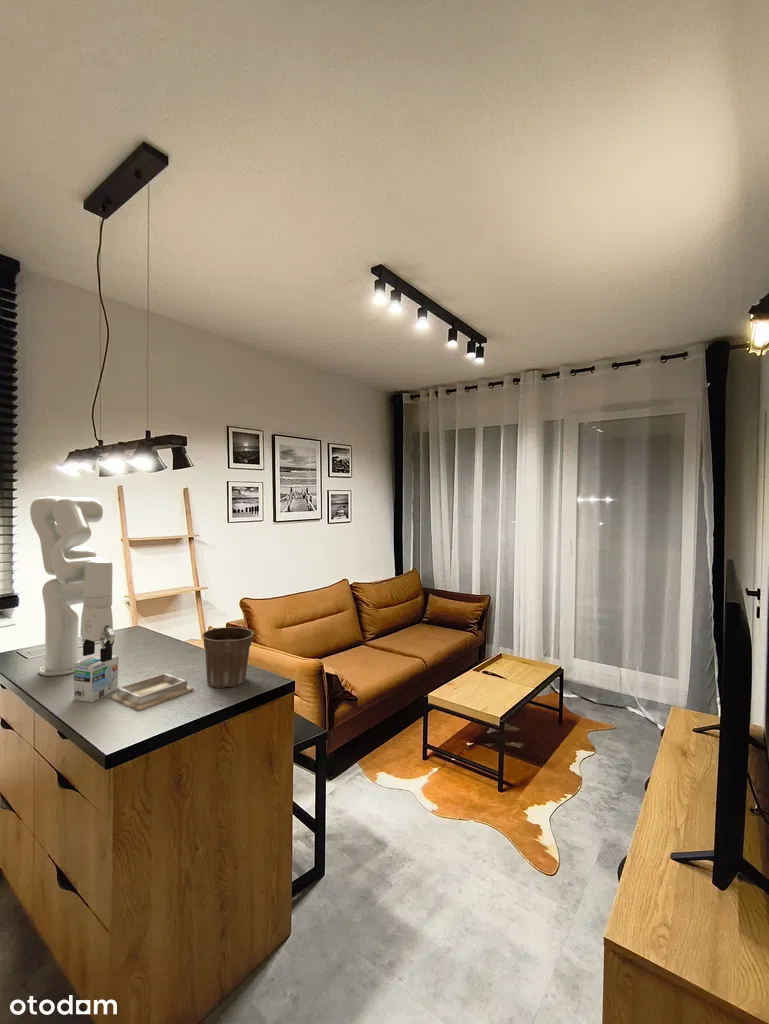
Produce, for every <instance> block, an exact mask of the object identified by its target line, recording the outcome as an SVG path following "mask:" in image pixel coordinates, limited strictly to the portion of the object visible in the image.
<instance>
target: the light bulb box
mask: <svg viewBox="0 0 769 1024" xmlns="http://www.w3.org/2000/svg"><path fill="white" fill-rule="evenodd" d="M80 661H81V662H79V663H76V664H74V672H73V700H74V701H78V702H79V701H80V702H87V703H93V702H95V701H97V700H100V699H101V698H104V697H106V696H107V695H111V694H112V693H113V692H117V688H118V687H119V684H118V683H119V656H118V655H113V654H112V660H109V661H105V662H100V653H99V654H97V655H95V656H92V657H89V658H86V659H85V660H84V659H83V660H80Z"/></svg>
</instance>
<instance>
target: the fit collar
mask: <svg viewBox="0 0 769 1024" xmlns="http://www.w3.org/2000/svg"><path fill="white" fill-rule="evenodd" d="M194 689H195V688H194V687H192V686H190V685H188V680H185V679H183V678H179V677H177V676H174V675H171V674H168V673H166V672H163V673H160V674H157V675H154V676H151V677H148V678H144V679H142V680H137V681H135V682H132V683H128V684H125V685H122V686H118V688H117V690H116V692H115V693H113V694H112V693H111V694H109V698H110V699H112V700H114V701H116V702H119V703H121V704H123V705H124V706H128V707H130V708H133V710H136V711H142V710H144V709H146V708H149V707H152V706H156V705H158V704H161V703H163V702H166V701H168V700H171V699H172V700H173V698H177V697H180V696H182V695H185V694H188V693H191V692H193V691H194Z"/></svg>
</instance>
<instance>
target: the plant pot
mask: <svg viewBox="0 0 769 1024" xmlns="http://www.w3.org/2000/svg"><path fill="white" fill-rule="evenodd" d="M201 636H202V639H203V648H204V650H205V667H206V668H205V669H206V683H207V685H208V686H210V687H212V688H218V689H224V688H226V687H228V688H235V687H239V686H241V685H242V684H244V683H245V682H246V678H247V671H248V665H249V663H248V662H249V655H250V654H249V653H250V647H251V646H252V639H253V636H254V631H253V630H251V629H250V628H246V627H237V626H236V627H235V626H234V627H231V626H229V627H217V628H213V629H209V630H206V631H204V632H203V633H202V634H201Z"/></svg>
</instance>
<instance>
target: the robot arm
mask: <svg viewBox="0 0 769 1024" xmlns="http://www.w3.org/2000/svg"><path fill="white" fill-rule="evenodd" d="M102 506H103V505H102V504H101V502H100V501H99V500H98V499H96V498H92V497H91V498H90V497H73V496H72V497H65V496H63V497H62V496H61V497H60V496H45V497H44V496H43V497H38V498H35V499H34V500H33V501H32V502H31V504H30V509H29V510H30V513H29V515H30V519H31V523H32V525H33V528H34V530H35V532H36V533H37V536H38V538H39V543H40V549H41V555H42V562H43V563H42V564H43V567H44V570H45V572H46V574H48V575H50V576H55V578H52V579H50V580H49V579H48V580H47V581H46V582H45V583H44V584H43V585H42V589H41V590H42V591H41V592H42V600H43V605H44V615H45V616H44V617H45V618H44V620H45V623H44V624H45V625H44V631H45V632H44V665H43V666H40V668H39V670H38V673H39V674H40V675H41V676H50V677H53V676H54V677H56V676H57V677H58V676H64V675H68V674H72V673H73V674H74V664H76V663H79V662H81V661H82V660H79V630H80V637H81V638H82V641H81V643H82V656H84V657H87V656H91V655H94V654H95V653H96V651H95V650H96V644H95V643H98V642H99V644H100V646H101V648H100V651H99V652H100V653H99V654H100V662H105V661H109V660H112V655H113V647H114V643H115V639H116V634H115V632H114V630H113V629H114V621H113V610H112V606H113V568H114V567H113V562H111V560H107V559H105V557H99V556H97V553H96V552H95V550H94V549H93V548H92V547H89V546H81V545H83V544H85V543H86V542H88V541H89V539H90V538H91V537H92V530H91V527H90V524H89V523H98V522H100V521H101V520H102V518H103V515H104V510H103V507H102ZM79 604H80V605H81V604H83V605H82V611H81V619H80V618H79V616H78V615H79V614H78V613H77V612H76V611H75V610H74V609H72V607H71V606H73V605H79ZM79 619H80V624H79ZM79 625H80V626H79ZM79 628H80V629H79Z"/></svg>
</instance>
